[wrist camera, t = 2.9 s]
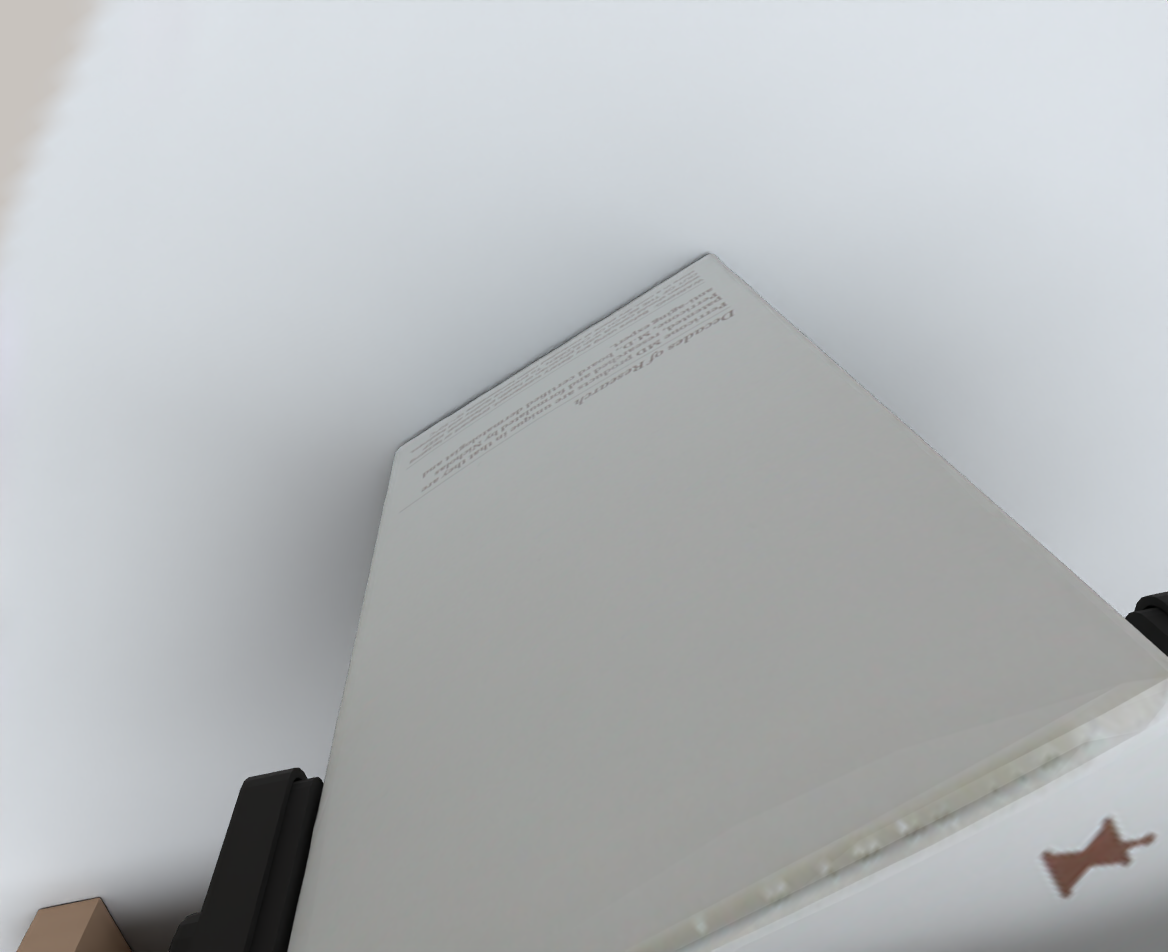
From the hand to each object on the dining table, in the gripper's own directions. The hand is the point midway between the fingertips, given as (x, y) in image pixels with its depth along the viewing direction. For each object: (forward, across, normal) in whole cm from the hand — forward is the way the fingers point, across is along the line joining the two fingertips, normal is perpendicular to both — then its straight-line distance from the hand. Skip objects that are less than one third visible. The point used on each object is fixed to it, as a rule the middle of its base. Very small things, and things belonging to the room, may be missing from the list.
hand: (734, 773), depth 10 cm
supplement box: (+9, 0, +1) cm, 9 cm away
